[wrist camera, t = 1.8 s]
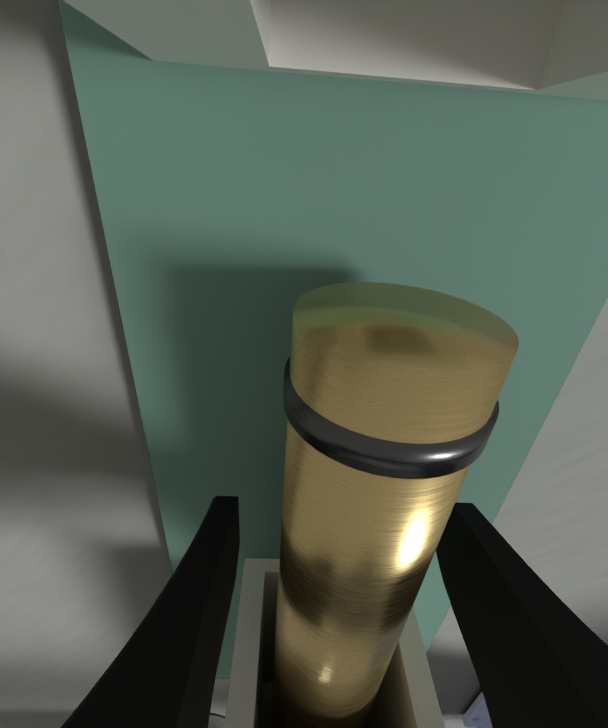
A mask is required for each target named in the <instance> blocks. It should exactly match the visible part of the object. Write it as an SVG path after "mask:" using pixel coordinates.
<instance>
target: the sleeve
mask: <svg viewBox="0 0 608 728" xmlns="http://www.w3.org/2000/svg"><path fill="white" fill-rule="evenodd" d="M279 560H280V559H260V558H245V563H244V571H243V579H242V587H241V595H240V603H239V611H238V619H237V627H236V635H235V643H234V651H233V659H232V667H231V675H230V683H229V692H228V700H227V708H226V716H225V724H224V728H270V726H271V708H272V689H273V671H274V652H275V634H276V615H277V597H278V578H279ZM363 728H445V725H444V721H443V718H442V714H441V710H440V706H439V702H438V698H437V695H436V691H435V687H434V683H433V679H432V676H431V672H430V668H429V664H428V660H427V656H426V653H425V649H424V645H423V641H422V637H421V634H420V630H419V626H418V622H417V618H416V614H415V611H414V607H412V609H411V612H410V614H409V616H408V619H407V621H406V624H405V626H404V629H403V631H402V634H401V636H400V638H399V641H398V643H397V646H396V648H395V651H394V653H393V655H392V658H391V660H390V663H389V665H388V668H387V670H386V672H385V675H384V677H383V680H382V682H381V685H380V687H379V690H378V692H377V694H376V697H375V699H374V702H373V704H372V707H371V709H370V711H369V714H368V716H367V719H366V721H365V724H364V726H363Z"/></svg>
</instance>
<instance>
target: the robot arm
mask: <svg viewBox="0 0 608 728" xmlns="http://www.w3.org/2000/svg"><path fill="white" fill-rule="evenodd" d="M239 546H240V527H239V500H238V496H216V497H214V498H213V499H212V502H211V504H210V507H209V509H208V511H207V513H206V515H205V517H204V519H203V521H202V523H201V525H200V527H199V529H198V531H197V533H196V535H195V537H194V539H193V541H192V542H191V544H190V546H189V548H188V549H187V551H186V553H185V555H184V556H183V558H182V560H181V561H180V563H179V565H178V567H177V568H176V570H175V572H174V573H173V575H172V577H171V578H170V580H169V581H168V583H167V584H166V586H165V588H164V589H163V591H162V592H161V594H160V595H159V597H158V598H157V600H156V601H155V603H154V605H153V606H152V608H151V609H150V611H149V612H148V614H147V615H146V617H145V618H144V619H143V621H142V622H141V624H140V625H139V627H138V628H137V630H136V631H135V632H134V634H133V635H132V637H131V638H130V639H129V641H128V642H127V643H126V645H125V646H124V648H123V649H122V650H121V652H120V653H119V654H118V656H117V657H116V658H115V660H114V661H113V662H112V664H111V665H110V666H109V668H108V669H107V670H106V672H105V673H104V674H103V675H102V677H101V678H100V679H99V681H98V682H97V683H96V684H95V686H94V687H93V688H92V690H91V691H90V692H89V693H88V695H87V696H86V697H85V699H84V700H83V701H82V702H81V703H80V705H79V706H78V707H77V708H76V710H75V711H74V712H73V713H72V715H71V716H70V717H69V718H68V719H67V721H66V722H65V723H64V724H63V725H62V727H61V728H208V723H209V716H210V708H211V701H212V694H213V689H214V683H215V677H216V672H217V667H218V663H219V658H220V653H221V648H222V643H223V639H224V634H225V629H226V624H227V619H228V615H229V610H230V605H231V600H232V595H233V590H234V585H235V580H236V572H237V564H238V555H239ZM436 554H437V558H438V563H439V567H440V571H441V575H442V579H443V583H444V586H445V589H446V591H447V594H448V597H449V600H450V603H451V606H452V608H453V611H454V614H455V617H456V619H457V622H458V625H459V628H460V630H461V633H462V636H463V639H464V641H465V644H466V647H467V650H468V652H469V655H470V658H471V660H472V663H473V666H474V669H475V671H476V674H477V677H478V680H479V683H480V686H481V689H482V692H481V693H480V695H479V696H478V697H477V699H476V700H475V701H474V702H473V704H472V705H471V706H470V708H469V709H468V710H467V712H466V713H465V714H464V716H463V717H462V720H463V723H464V725H465V726H466V727H479V728H608V645H607V644H605V643H604V642H603V641H602V640H601V639H600V638H599V637H598V636H597V635H596V634H595V633H594V632H593V631H592V630H591V629H590V628H588V627H587V626H586V625H585V624H584V623H583V622H582V621H581V620H580V619H579V618H578V617H577V616H576V615H575V614H574V613H573V612H572V611H571V610H570V609H569V608H568V607H567V606H566V605H565V604H564V603H563V602H562V601H561V600H560V599H559V598H558V597H557V596H556V594H555V593H554V592H553V591H552V590H551V589H550V588H549V587H548V586H547V585H546V584H545V583H544V582H543V581H542V580H541V579H540V578H539V577H538V576H537V574H536V573H535V572H534V571H533V570H532V569H531V568H530V567H529V566H528V565H527V564H526V563H525V561H524V560H523V559H522V558H521V557H520V556H519V555H518V554H517V553H516V552H515V550H514V549H513V548H512V547H511V546H510V545H509V544H508V543H507V541H506V540H505V539H504V538H503V537H502V536H501V535H500V534H499V532H498V531H497V530H496V529H495V528H494V527H493V526H492V524H491V523H490V522H489V521H488V520H487V519H486V518H485V516H484V515H483V514H482V513H481V512H480V511H479V510H478V509H477V507H476V506H475V505H474V504H473V503H458V502H455V504H454V507H453V509H452V512H451V514H450V517H449V519H448V521H447V524H446V526H445V529H444V531H443V534H442V536H441V538H440V541H439V543H438V546H437V548H436Z"/></svg>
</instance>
